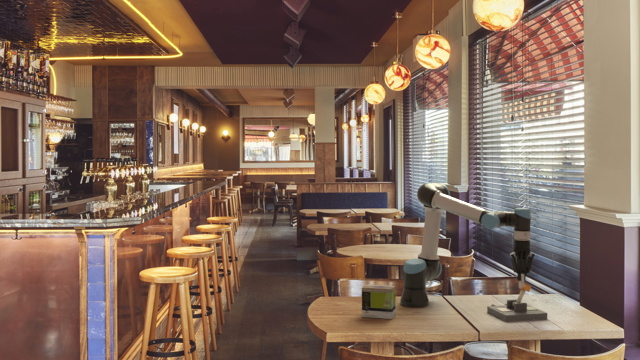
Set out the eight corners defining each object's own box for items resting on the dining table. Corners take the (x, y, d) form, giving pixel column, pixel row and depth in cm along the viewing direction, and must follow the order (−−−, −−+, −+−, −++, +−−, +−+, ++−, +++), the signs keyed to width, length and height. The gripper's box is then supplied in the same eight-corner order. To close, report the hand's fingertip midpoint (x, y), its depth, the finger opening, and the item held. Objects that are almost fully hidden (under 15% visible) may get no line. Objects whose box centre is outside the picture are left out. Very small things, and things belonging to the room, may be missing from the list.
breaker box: (505, 321, 278) (505, 307, 278) (479, 308, 304) (479, 295, 304) (547, 319, 283) (547, 304, 283) (518, 306, 308) (518, 293, 308)
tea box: (395, 314, 291) (396, 285, 290) (391, 320, 281) (391, 289, 281) (366, 312, 295) (366, 283, 295) (361, 317, 286) (361, 287, 286)
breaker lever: (515, 308, 287) (526, 284, 287) (510, 306, 291) (520, 282, 292) (520, 310, 287) (531, 286, 288) (515, 308, 292) (525, 284, 293)
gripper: (514, 240, 284) (513, 289, 284) (538, 240, 286) (537, 288, 287) (506, 238, 291) (505, 286, 291) (529, 238, 294) (528, 285, 294)
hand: (521, 287), depth 289 cm, fingers closed
